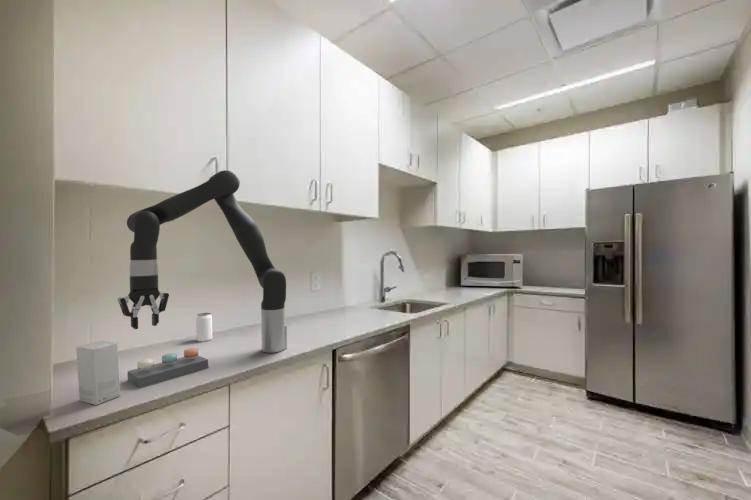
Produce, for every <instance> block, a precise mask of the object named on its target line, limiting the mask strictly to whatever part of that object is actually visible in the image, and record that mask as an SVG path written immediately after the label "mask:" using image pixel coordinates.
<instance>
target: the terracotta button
mask: <svg viewBox="0 0 751 500" xmlns="http://www.w3.org/2000/svg"><path fill="white" fill-rule="evenodd" d="M196 356H199V348H195V347H191V348H188V349H187V348H186V349H185V350H183V357H185V358H191V357H196Z"/></svg>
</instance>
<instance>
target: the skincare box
mask: <svg viewBox="0 0 751 500" xmlns="http://www.w3.org/2000/svg"><path fill="white" fill-rule="evenodd" d="M75 351H76V365H77V379H78V383H77V384H78V397H79V402H82V403H87V404H91V405H95V406H98V405H101V404H104V403H106V402H109V401H111V400H114V399H116V398H119V397H120V396H121V389H120V386H121V384H120V371H119V369H120V368H119V367H120V366H119V354H118V353H119V352H118V343H117V342H111V341H104V340H98V341H95V342H90V343H87V344H84V345H83V344H82V345H78V346H76V350H75Z"/></svg>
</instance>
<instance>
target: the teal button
mask: <svg viewBox="0 0 751 500" xmlns="http://www.w3.org/2000/svg"><path fill="white" fill-rule="evenodd" d="M177 358H178V354H177V353H176V352H175V353H173V352H172V353H167V354H163V355H161V363H165V364H166V363H173V362H176V361H177Z"/></svg>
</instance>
